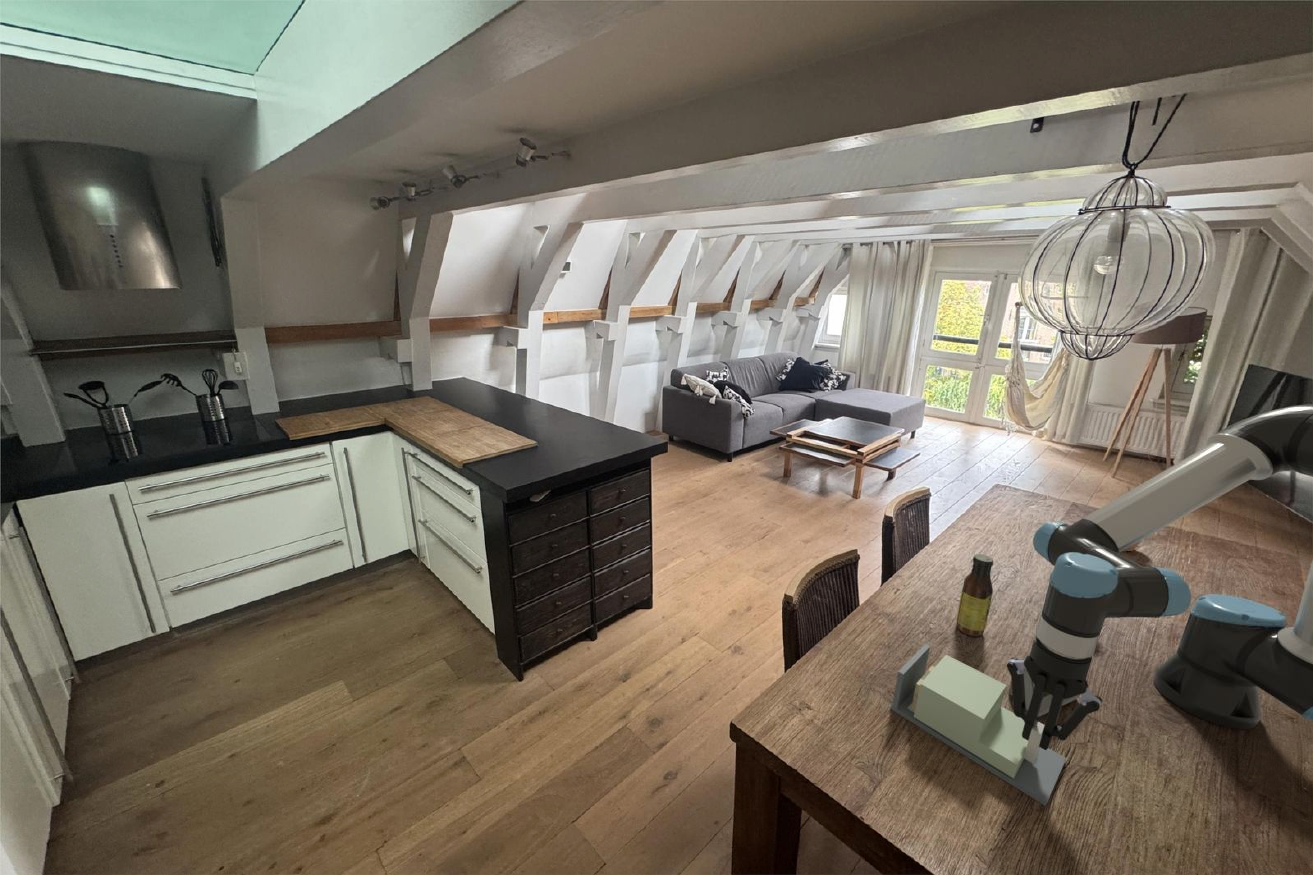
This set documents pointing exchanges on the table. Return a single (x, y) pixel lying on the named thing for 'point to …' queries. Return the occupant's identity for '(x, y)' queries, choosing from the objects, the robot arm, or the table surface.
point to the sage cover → (972, 714)
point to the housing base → (1028, 778)
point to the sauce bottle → (976, 597)
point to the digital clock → (1046, 699)
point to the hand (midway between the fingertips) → (1030, 756)
